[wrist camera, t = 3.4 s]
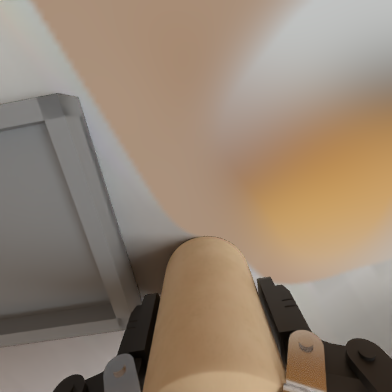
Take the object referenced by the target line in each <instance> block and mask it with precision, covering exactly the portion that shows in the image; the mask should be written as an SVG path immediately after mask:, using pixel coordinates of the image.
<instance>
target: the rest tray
mask: <svg viewBox="0 0 392 392" xmlns="http://www.w3.org/2000/svg"><path fill="white" fill-rule="evenodd" d="M137 305H142V301H141V298H140V294H139V291H138V288H137V285H136V282H135V278H134V275H133V272H132V269H131V265H130V262H129V259H128V256H127V253H126V249H125V246H124V243H123V240H122V236H121V233H120V230H119V227H118V224H117V220H116V217H115V214H114V211H113V207H112V204H111V201H110V198H109V195H108V191H107V188H106V185H105V182H104V179H103V175H102V172H101V169H100V166H99V162H98V159H97V156H96V153H95V150H94V146H93V143H92V140H91V137H90V133H89V130H88V127H87V124H86V121H85V117H84V114H83V111H82V108H81V104H80V101H79V98H78V97H75V96H70V95H64V94H58V93H56V94H51V95H46V96H41V97H36V98H31V99H26V100H21V101H16V102H10V103H5V104H0V347H7V346H15V345H22V344H29V343H36V342H43V341H50V340H57V339H64V338H72V337H79V336H86V335H93V334H100V333H107V332H114V331H122V330H126V327H127V323H128V320H129V317H130V314H131V312H132V311H133V310H134V308H135V307H136V306H137Z"/></svg>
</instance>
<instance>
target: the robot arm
mask: <svg viewBox="0 0 392 392" xmlns="http://www.w3.org/2000/svg"><path fill="white" fill-rule="evenodd" d="M257 283H258V292H259V297H260V300H261V303H262V306H263V308H264V311H265V314H266V317H267V320H268V322H269V325H270V328H271V331H272V334H273V336H274V339H275V342H276V345H277V348H278V350H279V353H280V356H281V359H282V362H283V364H284V367H285V370H286V383H284V385H283V392H392V359H391V358H390V357H389V356H388V355H387V354H386V353H385V352H384V351H383V350H382V349H381V348H380V347H379V346H377V345H376V344H374V343H373V342H370V341H368V340H365V339H359V338H356V339H352V340H350V341H348V343H347V344H346V346H342V345H336V344H331V343H327V342H325V341H322V340H321V339H320V338H319V337H318V336H317V335H315V334H314V333H312V331H311V330H310V328H309V326H308V324H307V323H306V321H305V319H304V317H303V315H302V313H301V312H300V310H299V308H298V306H297V304H296V302H295V301H294V299H293V297H292V295H291V293H290V291H289V290H288V289H286V288H285V287H284V286H283V285H277V286H275V285H274V283H273V281H272V279H271V277H265V278H258V279H257ZM159 303H160V296H159V294H158V293H154V294H147V295H145V296H144V299H143V303H142V305H137V306H136V307H135V308H134V310H133V311H132V312H131V314H130V317H129V320H128V323H127V327H126V330H125V333H124V336H123V339H122V342H121V345H120V348H119V351H118V354H117V356H116V357H114V358H113V359H112V360H111V361H110V362H109V363H108V364H107V366H106V368H105V370H104V371H103V372H102V373H100V374H98V375H96V376H93V377H91V378H89V379H87V380H84V378H83V376H81V375H78V374H75V375H71V376H69V377H67V378H66V379H64V380H63V381H62V382H61V383H59V384H58V386H57V387H56V388H55V389H54V391H53V392H143V386H144V381H145V376H146V371H147V366H148V360H149V355H150V350H151V345H152V340H153V334H154V329H155V324H156V319H157V314H158V308H159Z"/></svg>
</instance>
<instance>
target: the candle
mask: <svg viewBox="0 0 392 392" xmlns="http://www.w3.org/2000/svg"><path fill="white" fill-rule="evenodd" d="M284 383H286V370H285V367H284V364H283V362H282V359H281V356H280V353H279V350H278V348H277V345H276V342H275V339H274V336H273V334H272V331H271V328H270V325H269V322H268V320H267V317H266V314H265V311H264V308H263V306H262V303H261V300H260V297H259V295H258V292H257V289H256V286H255V283H254V281H253V278H252V275H251V272H250V269H249V267H248V264H247V262H246V260H245V257H244V256H243V254H242V253H241V251H240V250H239V249H238V248H237V247H236V246H235V245H233V244H232V243H230V242H229V241H227V240H225V239H222V238H218V237H212V236H203V237H197V238H193V239H191V240H188V241H186V242H185V243H183V244H182V245H180V246H179V247H178V248H177V249H176V250H175V251H174V252H173V254H172V256H171V257H170V259H169V262H168V264H167V268H166V273H165V277H164V282H163V288H162V293H161V298H160V303H159V308H158V314H157V319H156V324H155V329H154V334H153V340H152V345H151V350H150V355H149V360H148V366H147V371H146V376H145V381H144V386H143V392H283V385H284Z"/></svg>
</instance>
